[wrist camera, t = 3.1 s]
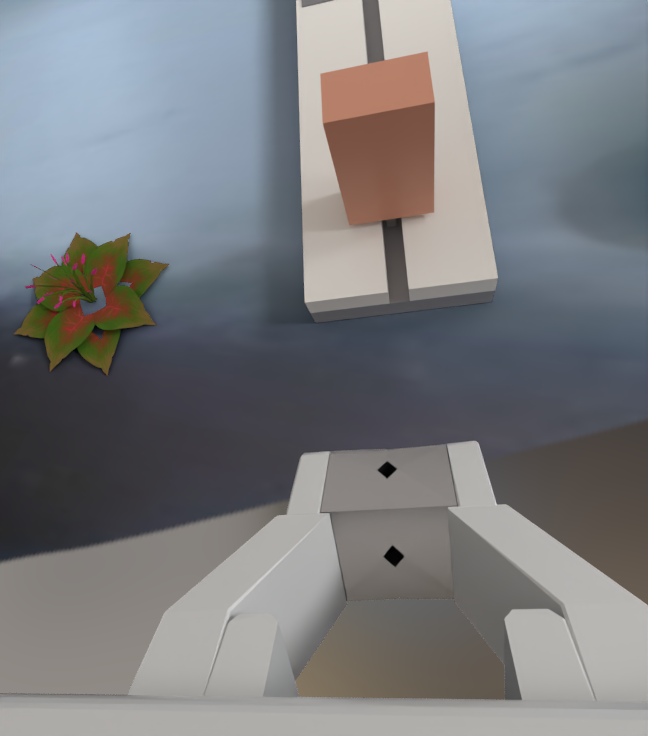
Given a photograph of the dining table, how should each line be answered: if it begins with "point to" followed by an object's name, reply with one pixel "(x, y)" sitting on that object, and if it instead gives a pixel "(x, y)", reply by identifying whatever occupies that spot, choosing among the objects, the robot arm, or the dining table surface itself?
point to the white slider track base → (451, 172)
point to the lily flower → (89, 300)
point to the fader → (382, 137)
